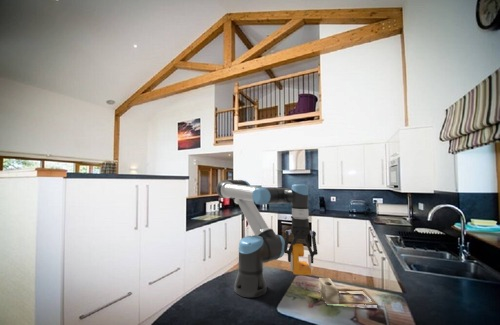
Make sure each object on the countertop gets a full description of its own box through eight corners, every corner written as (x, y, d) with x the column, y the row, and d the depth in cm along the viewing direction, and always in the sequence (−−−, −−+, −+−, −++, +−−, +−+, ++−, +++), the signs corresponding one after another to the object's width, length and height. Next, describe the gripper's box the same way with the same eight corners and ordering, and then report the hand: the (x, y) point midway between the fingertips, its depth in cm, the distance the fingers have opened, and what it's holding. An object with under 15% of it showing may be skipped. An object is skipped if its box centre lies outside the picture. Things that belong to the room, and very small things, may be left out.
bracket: (311, 277, 86) (311, 247, 88) (294, 276, 87) (294, 247, 88) (306, 267, 97) (306, 241, 98) (290, 266, 97) (290, 240, 99)
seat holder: (326, 306, 83) (325, 289, 84) (319, 291, 95) (318, 277, 96) (378, 309, 82) (377, 292, 82) (364, 293, 94) (363, 279, 94)
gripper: (278, 218, 92) (278, 272, 89) (324, 219, 90) (326, 274, 87) (277, 215, 99) (277, 265, 96) (320, 217, 97) (321, 268, 95)
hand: (300, 269), depth 92 cm, fingers closed on bracket, 7 cm apart
